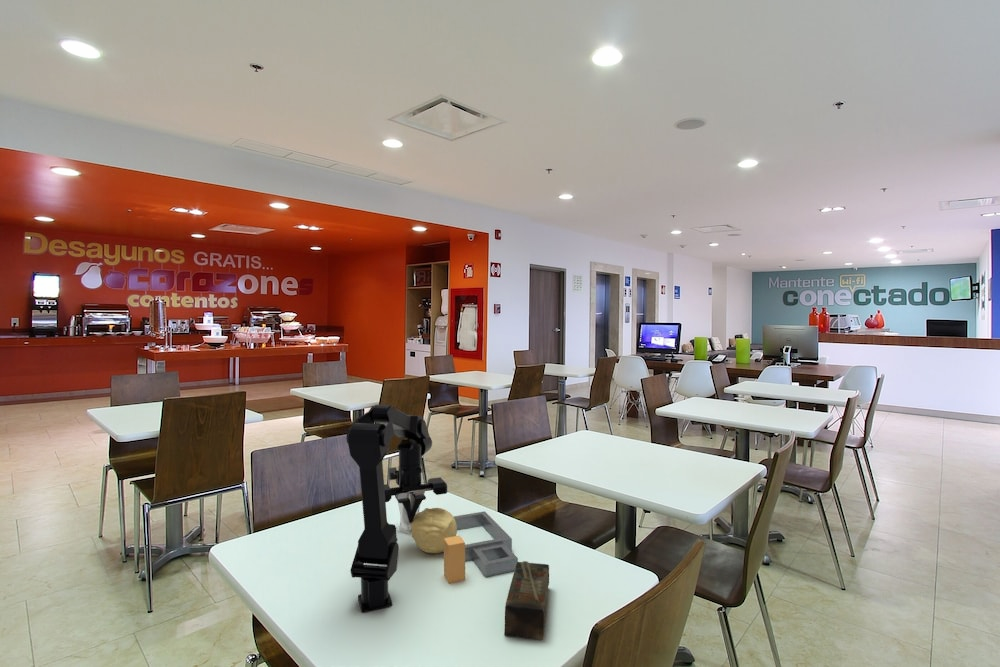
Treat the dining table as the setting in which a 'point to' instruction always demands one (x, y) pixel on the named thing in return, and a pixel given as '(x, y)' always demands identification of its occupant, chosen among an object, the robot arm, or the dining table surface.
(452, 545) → the orange rectangular block
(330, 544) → the dining table surface
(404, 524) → the beer glass
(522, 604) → the beverage carton
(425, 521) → the sculpture
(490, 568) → the grey flat openwork piece
